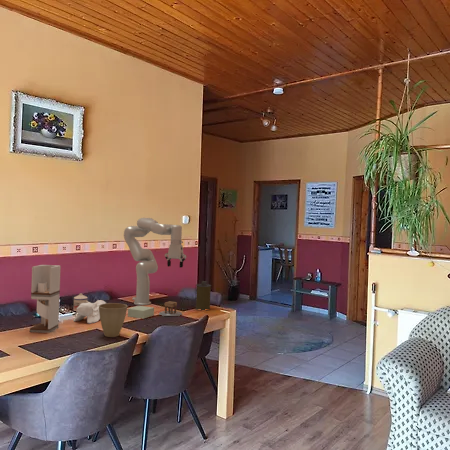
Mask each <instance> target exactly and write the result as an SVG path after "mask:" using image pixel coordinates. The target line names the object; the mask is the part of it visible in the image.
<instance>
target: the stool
mask: <svg viewBox="0 0 450 450" xmlns="http://www.w3.org/2000/svg"><path fill="white" fill-rule="evenodd" d="M177 306H178V302H176V301H170V300H169V301H166V302H164V311H165V313H167V311H168V312H170V311H171V314H173V311H174V313H176V311H177Z"/></svg>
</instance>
